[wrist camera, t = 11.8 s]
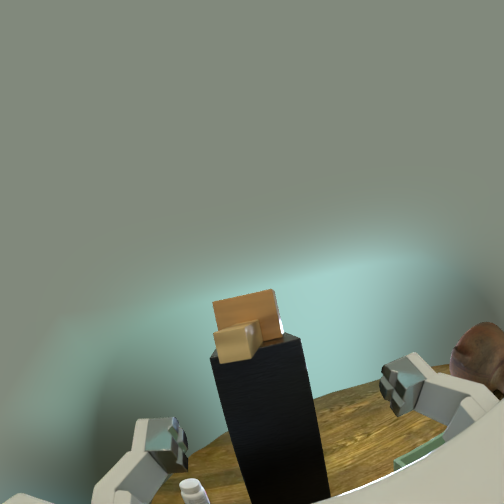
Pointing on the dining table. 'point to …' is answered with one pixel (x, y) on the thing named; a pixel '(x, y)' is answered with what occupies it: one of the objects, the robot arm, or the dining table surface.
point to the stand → (274, 423)
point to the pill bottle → (193, 492)
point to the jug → (480, 356)
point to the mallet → (245, 325)
